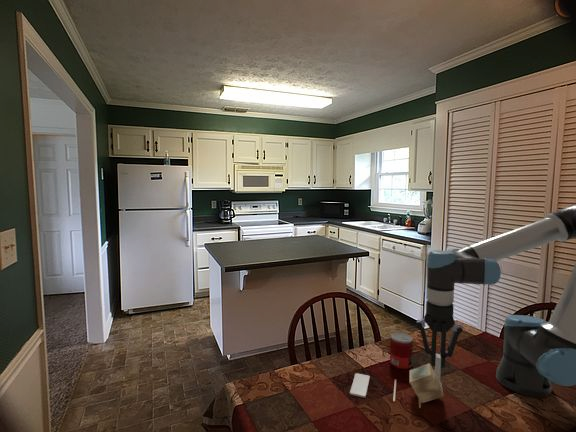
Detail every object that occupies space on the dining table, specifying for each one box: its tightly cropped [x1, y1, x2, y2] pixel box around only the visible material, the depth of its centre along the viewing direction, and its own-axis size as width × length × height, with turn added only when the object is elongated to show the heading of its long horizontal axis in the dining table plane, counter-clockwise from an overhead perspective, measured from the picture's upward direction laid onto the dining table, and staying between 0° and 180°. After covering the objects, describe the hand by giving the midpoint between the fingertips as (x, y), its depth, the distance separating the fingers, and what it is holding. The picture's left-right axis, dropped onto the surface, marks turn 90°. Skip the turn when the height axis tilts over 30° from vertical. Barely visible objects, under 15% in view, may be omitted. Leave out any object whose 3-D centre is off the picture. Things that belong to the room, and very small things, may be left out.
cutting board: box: [349, 372, 422, 409], centre depth 104 cm, size 30×12×1 cm, turn 69°
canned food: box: [389, 332, 414, 370], centre depth 120 cm, size 8×8×11 cm
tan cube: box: [408, 362, 444, 404], centre depth 100 cm, size 7×7×7 cm
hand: (437, 375), depth 99 cm, fingers closed
